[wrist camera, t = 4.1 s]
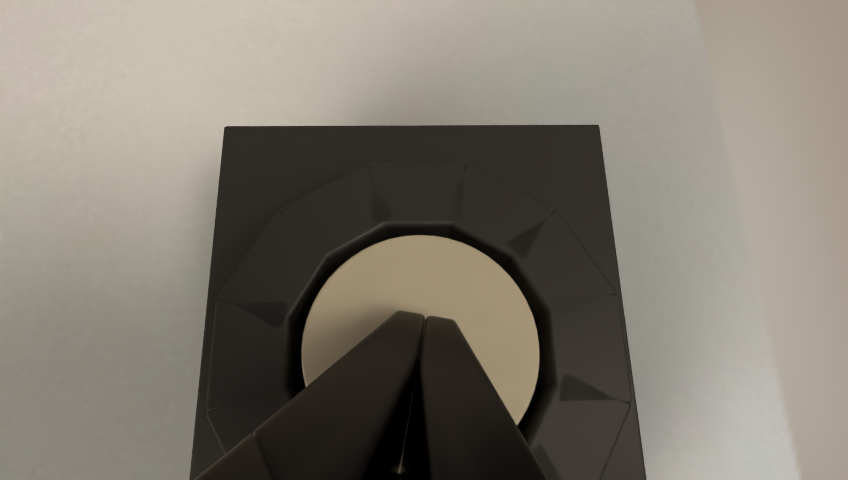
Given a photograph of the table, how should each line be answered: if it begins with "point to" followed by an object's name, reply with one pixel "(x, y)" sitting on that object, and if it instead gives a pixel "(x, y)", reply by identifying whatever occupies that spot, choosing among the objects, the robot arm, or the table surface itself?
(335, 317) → the stop button
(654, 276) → the table surface
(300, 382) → the block
